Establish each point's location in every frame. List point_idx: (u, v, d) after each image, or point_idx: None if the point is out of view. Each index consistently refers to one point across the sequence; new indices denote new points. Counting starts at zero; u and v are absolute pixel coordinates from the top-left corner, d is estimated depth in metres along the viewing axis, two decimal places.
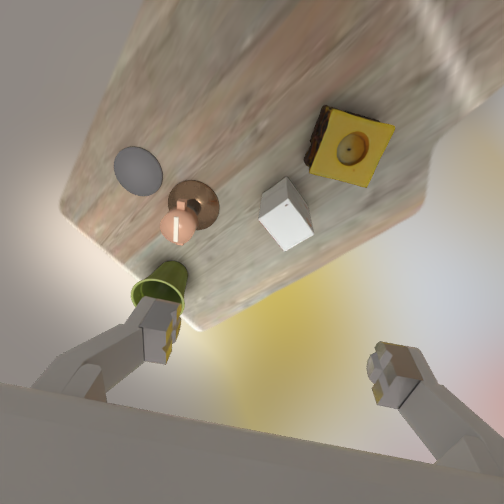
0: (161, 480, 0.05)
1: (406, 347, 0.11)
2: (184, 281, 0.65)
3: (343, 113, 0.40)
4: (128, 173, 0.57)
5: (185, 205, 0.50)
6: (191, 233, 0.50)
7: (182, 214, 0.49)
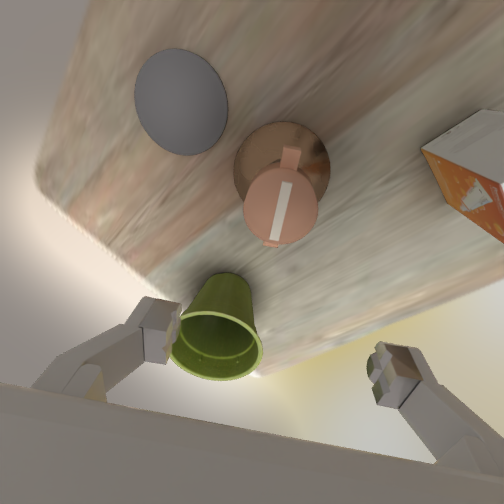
0: (161, 480, 0.05)
1: (406, 348, 0.11)
2: (252, 309, 0.38)
3: None
4: (162, 108, 0.30)
5: None
6: (312, 221, 0.23)
7: (299, 178, 0.21)
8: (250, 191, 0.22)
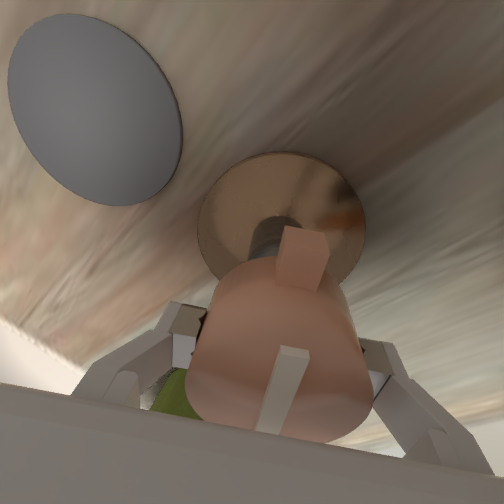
0: (161, 480, 0.05)
1: (380, 343, 0.11)
2: None
3: None
4: (63, 128, 0.16)
5: None
6: (357, 419, 0.09)
7: (328, 334, 0.08)
8: (198, 360, 0.08)
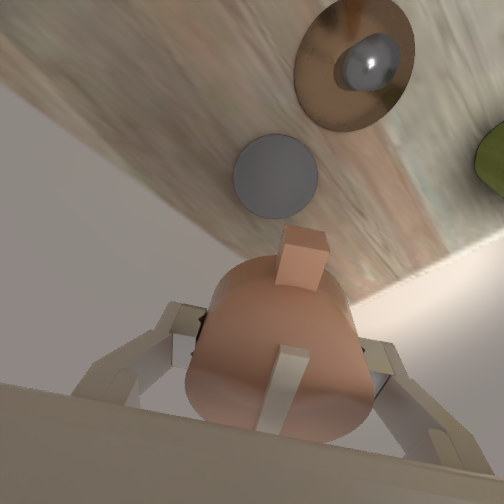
0: (161, 480, 0.05)
1: (380, 343, 0.11)
2: None
3: None
4: (275, 196, 0.34)
5: None
6: (357, 419, 0.09)
7: (328, 333, 0.08)
8: (197, 359, 0.08)
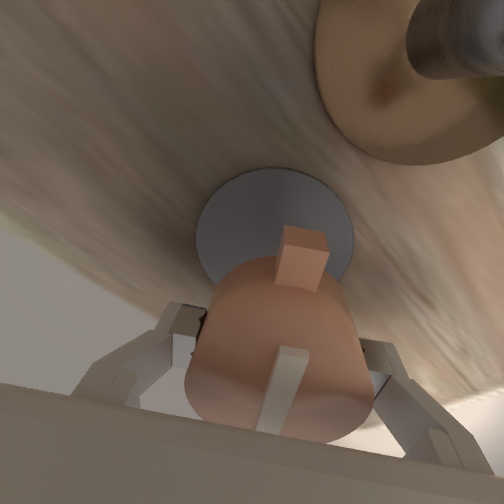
0: (161, 480, 0.05)
1: (380, 343, 0.11)
2: None
3: None
4: None
5: None
6: (357, 420, 0.09)
7: (328, 334, 0.08)
8: (197, 360, 0.08)
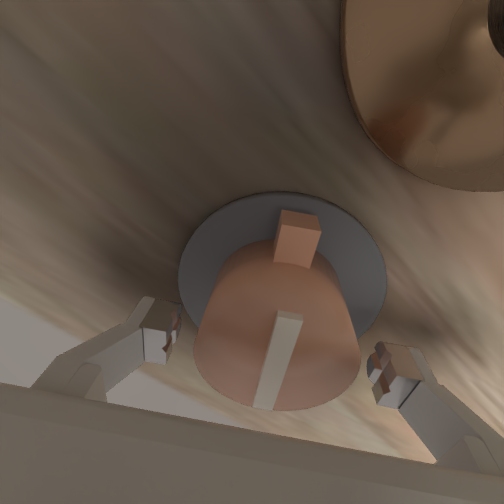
0: (161, 480, 0.05)
1: (406, 348, 0.11)
2: None
3: None
4: None
5: None
6: (346, 381, 0.10)
7: (320, 301, 0.09)
8: (205, 326, 0.09)
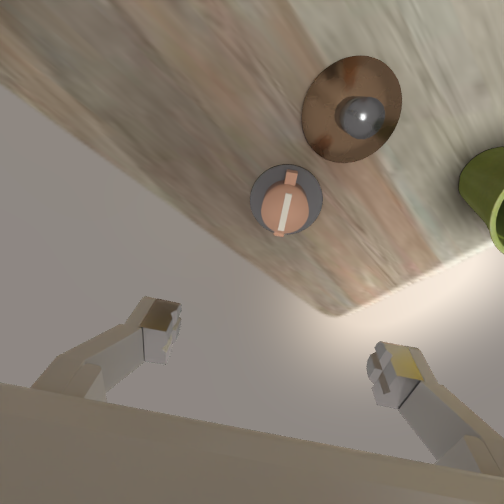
0: (161, 480, 0.05)
1: (406, 348, 0.11)
2: None
3: None
4: None
5: (296, 178, 0.36)
6: (305, 218, 0.35)
7: (296, 190, 0.34)
8: (265, 199, 0.35)
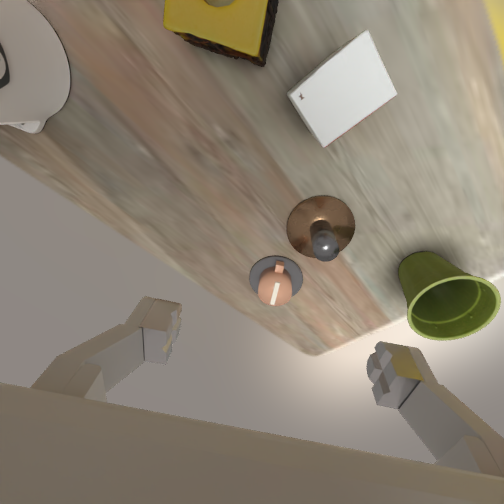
0: (161, 480, 0.05)
1: (406, 348, 0.11)
2: (434, 261, 0.43)
3: (166, 6, 0.26)
4: None
5: None
6: (289, 297, 0.49)
7: (283, 279, 0.48)
8: (261, 284, 0.48)
